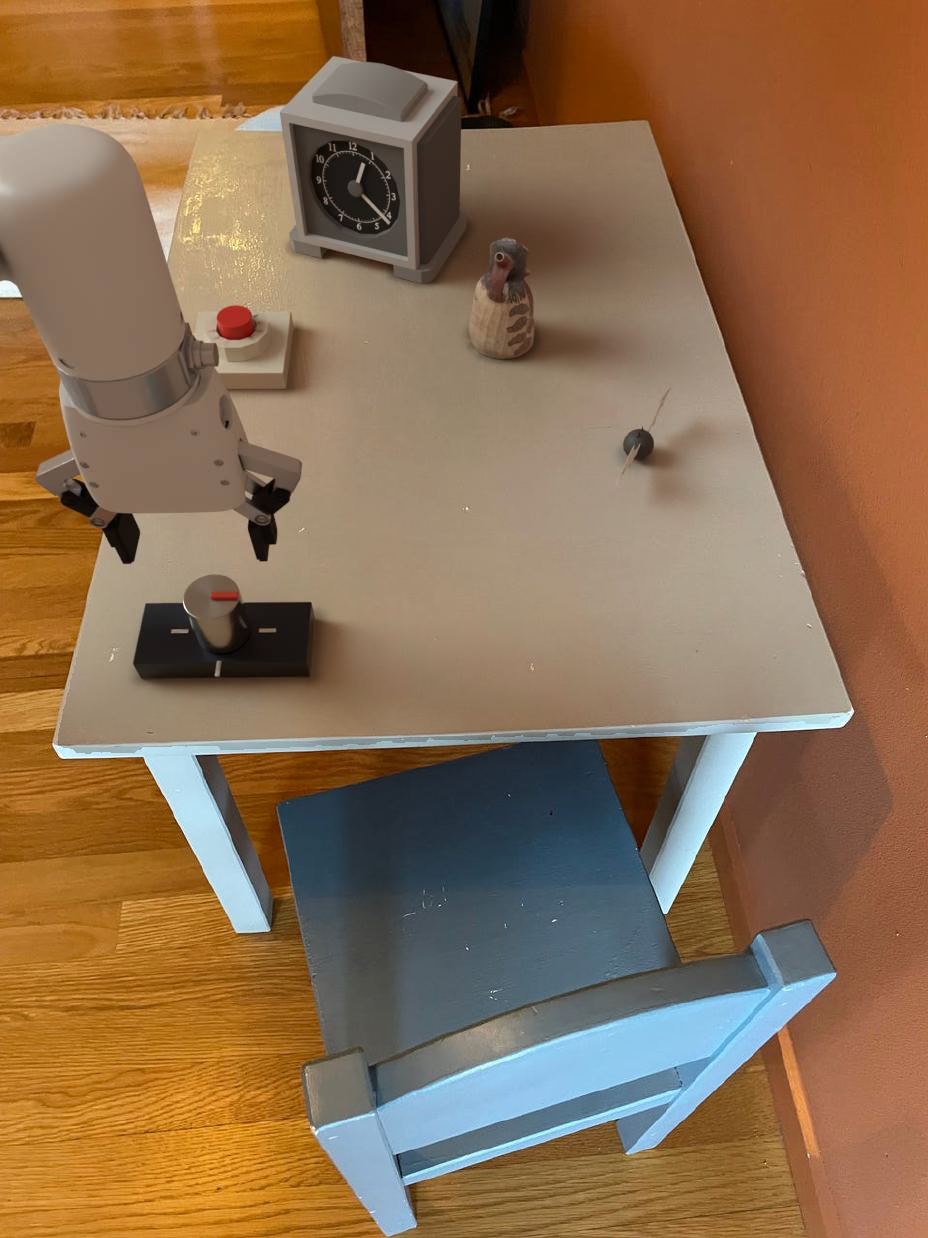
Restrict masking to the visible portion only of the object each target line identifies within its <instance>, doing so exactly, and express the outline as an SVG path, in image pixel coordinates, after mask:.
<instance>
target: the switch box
mask: <svg viewBox="0 0 928 1238" xmlns="http://www.w3.org/2000/svg"><path fill="white" fill-rule="evenodd" d="M245 307H246V306H245ZM246 308H248V309H249V310H250V311H251V313H252V318H253V322H254V327H255V329H254V332H253V334H252V335H251V336H250V337H247V338H244V339H242V340H227V339H225V338H224V337H222V335H221V334H220V331H219V327H218V323H217V314H218V313H219V312H220V311H221V310H199V311H198V314H197V320H196V324H195V328H194V333H193V335H194V336H195V338H196V339H197V340H202V341H203V342H204V343H216V344H217V347H218V352H219V364H218V366H217V367H215V369H216V370H217V372H218V374H219V375H220V377H221V379H222V381H223V383H224V384H225V386H226V388H227V390H286V389H287V384H288V377H289V368H290V360H291V352H292V345H293V337H294V329H295V327H294V326H295V325H294V320H293V314H292V311H291V310H257V309H253V308H251V307H246Z"/></svg>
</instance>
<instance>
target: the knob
mask: <svg viewBox="0 0 928 1238" xmlns="http://www.w3.org/2000/svg"><path fill="white" fill-rule="evenodd" d="M243 602H244V600H243V598H242V594H241V590H240V588H239V586H238V584H237V583H236V582H235V580H233V579H232V578H230V577H228V576H226V575H223V574H207V575H204V576H201V577H199V578H197V579H195V580H194V581H192V582H191V583H190V584H189V585H188V586H187V588H186V589H185V590H184V593H183V597H182V603H183V606H184V608H185V611H186V613H187V616H188V618H189V620H190V623H191V625H192V627H193V630H194V632H195V635H196V637H197V639H198V642H199V643H200V645H201V646H202V647H203V648H204V649H206V650H207V651H210V652H212V653H218V654H222V653H229V652H232V651H234V650H236V649H238V648H239V647H241V646H242V645H243V644H244V643H245V642H246V641H247V639H248V637H249V635H250V631H251V626H250V622H249V619H248V616H247V612H246V609H245V606H244V603H243Z"/></svg>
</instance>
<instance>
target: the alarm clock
mask: <svg viewBox="0 0 928 1238" xmlns="http://www.w3.org/2000/svg"><path fill="white" fill-rule="evenodd" d="M458 83H459V82H458V81H457V80H453V79H447V78H442V77H437V76H433V75H428V74H423V73H417V72H414V71H409V70H404V69H400V68H398V67H395V66H391V65H387V64H385V63H380V62H371V61H359V60H354V59H350V58H345V57H341V56H335V55H332V56H331V58H329V60H328V61H327V62H326V63H325V64H324V65H323V66H322V67H321V68H320V69H319V70H318V71H317V72H315V75H313V76H312V78H311V79H309V80H308V82H307V83H306V84H305V85H303V87H302V88H301V89H299V91H298V92H297V93H296V94H295V95H294V96H293V97H292V98H291V99H290V100H289V101H288V102H287V103H286V104H285V106H284V107H283V108H282V109H281V110H280V111H279V117H280V125H281V130H282V137H283V145H284V150H285V159H286V165H287V172H288V179H289V185H290V193H291V200H292V207H293V212H294V220H295V225H294V226H293V228H292V229H291V230H290V232H289V241H290V246H291V250H292V251H294V252H295V253H297V254H298V253H299V254H302V255H306V256H310V257H315V258H318V259H322V258H323V257H324V256H325V255H326V253H328V251H329V250H333V251H336V252H341V253H344V254H349V255H353V256H357V257H361V258H365V259H368V260H374V261H378V262H381V263H385V264H390V265H392V267H393V277H394V278H398V279H402V280H407V281H410V282H414V283H419V284H429V283H430V282H433V281H435V278H436V276H437V275H438V273H439V272H440V270H441V268H442V267H443V266H444V264H445V263H446V261H447V260H448V258H449V256H450V255H451V253H452V251H453V250H454V249H455V247H456V245H457V243H458V242H459V241H460V239H461V237H462V236H463V234H464V233H465V231H466V230H467V215H466V212H464V211H463V210H462V209H461V164H462V163H461V162H462V160H461V156H462V155H461V153H462V99H463V98H462V97H461V96H458V87H459V86H458V85H459V84H458Z"/></svg>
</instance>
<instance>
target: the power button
mask: <svg viewBox="0 0 928 1238" xmlns="http://www.w3.org/2000/svg"><path fill="white" fill-rule="evenodd" d="M248 308H249V307H248ZM248 308H246V306H243V305H237V304H236V305H229V306H225V307H224V308H221V309H220V310H219V311H220V312H219V313H218V314H217V323H218V327H219V331H220V334H221V335H222V337H224V338H225V339H227V340H242V339H244V338H247V337H250V336H251V335H252V334H253V332H254V329H255V327H254V322H253V318H252V313H251V311H250V310H249V309H248Z"/></svg>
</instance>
